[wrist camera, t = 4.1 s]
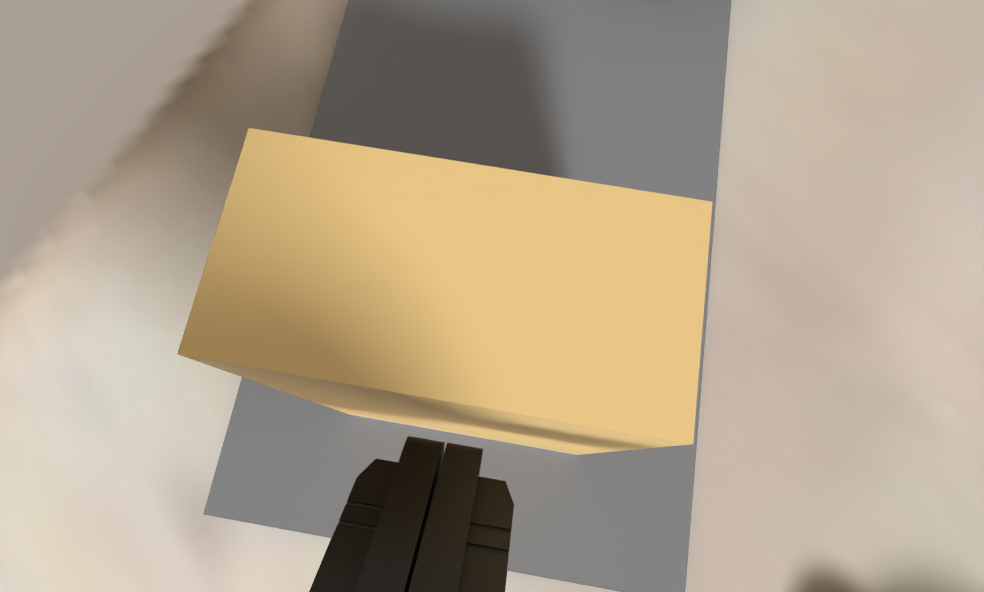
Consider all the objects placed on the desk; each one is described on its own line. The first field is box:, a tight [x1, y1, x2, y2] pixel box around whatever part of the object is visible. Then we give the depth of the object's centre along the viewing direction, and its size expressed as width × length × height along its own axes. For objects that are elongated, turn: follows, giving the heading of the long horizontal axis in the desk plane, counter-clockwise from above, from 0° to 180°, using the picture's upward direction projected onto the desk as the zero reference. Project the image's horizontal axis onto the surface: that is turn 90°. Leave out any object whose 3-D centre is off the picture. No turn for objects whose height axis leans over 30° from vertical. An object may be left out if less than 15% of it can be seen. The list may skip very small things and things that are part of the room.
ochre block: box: [178, 128, 712, 455], centre depth 15 cm, size 8×4×12 cm, turn 80°
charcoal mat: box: [204, 0, 731, 592], centre depth 23 cm, size 16×24×1 cm, turn 170°
